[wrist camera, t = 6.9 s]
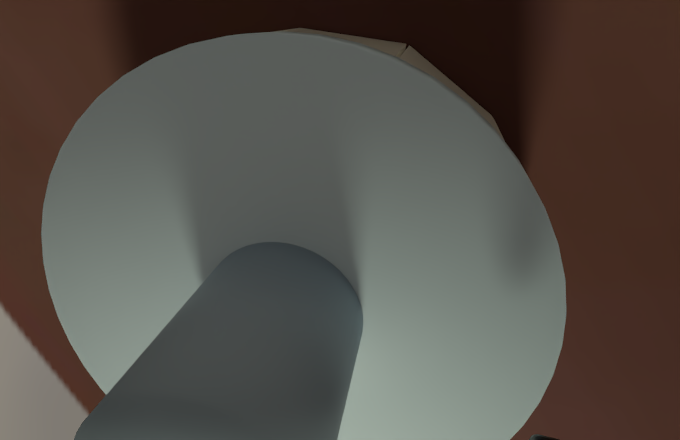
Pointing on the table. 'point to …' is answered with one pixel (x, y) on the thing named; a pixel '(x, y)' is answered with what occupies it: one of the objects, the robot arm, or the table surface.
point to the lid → (299, 251)
